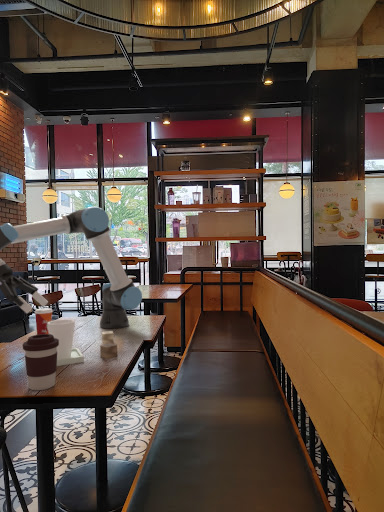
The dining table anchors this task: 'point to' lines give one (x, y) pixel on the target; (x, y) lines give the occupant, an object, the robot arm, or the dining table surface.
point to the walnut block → (108, 351)
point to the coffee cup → (41, 361)
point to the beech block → (107, 337)
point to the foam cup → (62, 336)
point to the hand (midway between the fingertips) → (38, 307)
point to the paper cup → (43, 320)
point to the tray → (72, 358)
